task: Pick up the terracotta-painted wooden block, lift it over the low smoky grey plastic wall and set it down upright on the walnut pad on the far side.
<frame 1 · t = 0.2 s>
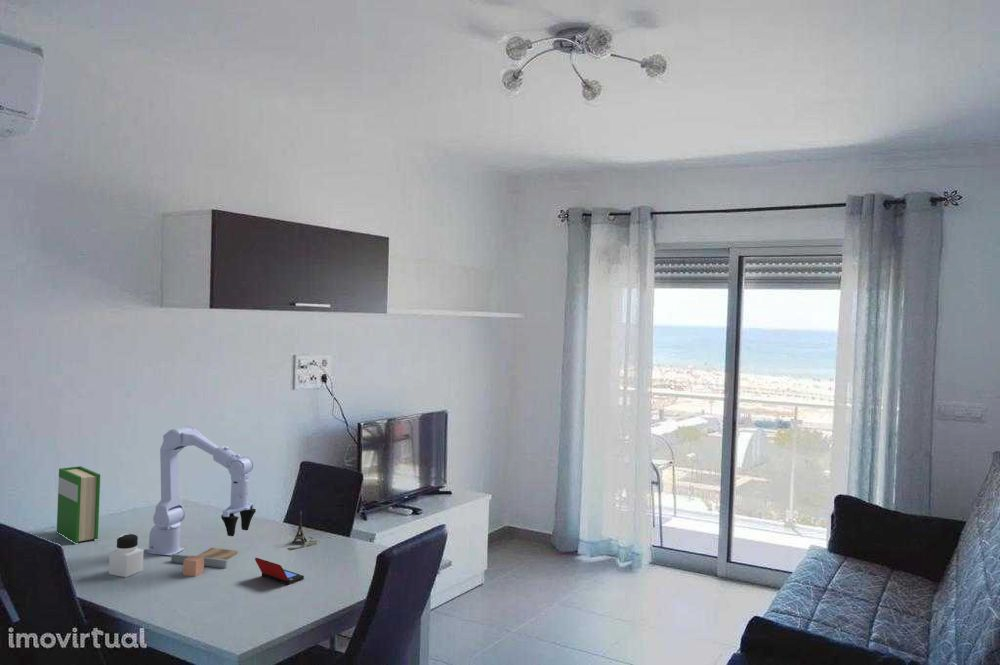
hand: (237, 532, 255), 10 cm above the table, fingers open, 7 cm apart
medicine bottle: (125, 573, 240), on the table
walnut pad: (216, 556, 259), on the table
low wall: (199, 564, 251), on the table
hardback book: (76, 537, 273), on the table
terracotta block: (193, 573, 242), on the table
handheld game console: (279, 580, 241), on the table
eiffel tower figurine: (299, 545, 279), on the table
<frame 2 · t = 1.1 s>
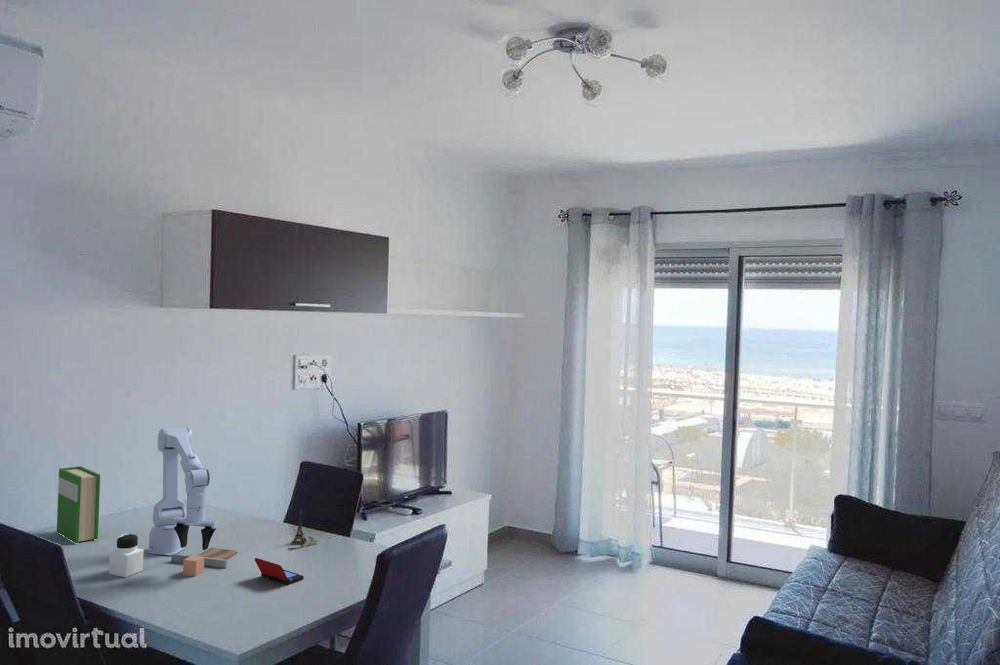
hand: (194, 548, 242), 8 cm above the table, fingers open, 7 cm apart
nothing on the table moved.
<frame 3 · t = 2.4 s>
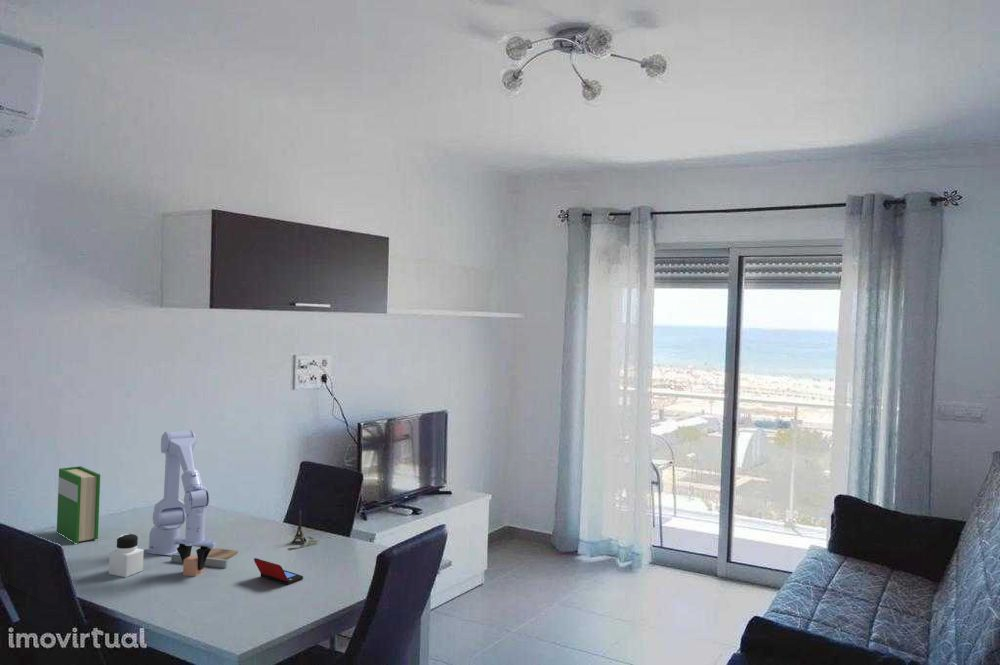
hand: (193, 568, 242), 2 cm above the table, fingers closed on terracotta block, 4 cm apart
terracotta block: (193, 573, 242), on the table, touching gripper
everything else where it was.
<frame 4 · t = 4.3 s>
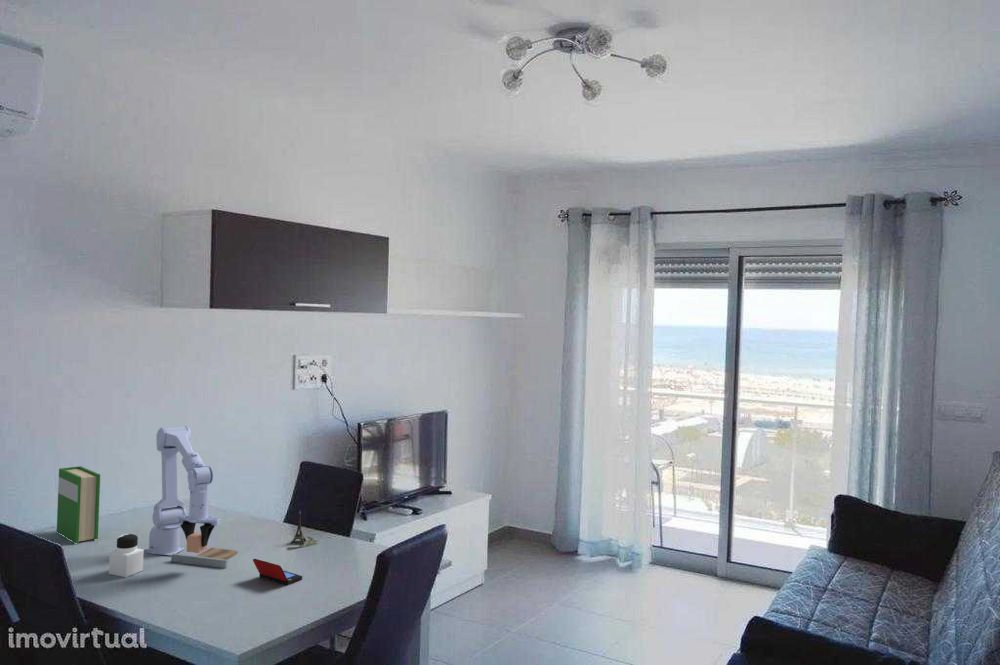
hand: (197, 545, 244), 9 cm above the table, fingers closed on terracotta block, 4 cm apart
terracotta block: (196, 550, 244), point 7 cm above the table, touching gripper
everything else where it was.
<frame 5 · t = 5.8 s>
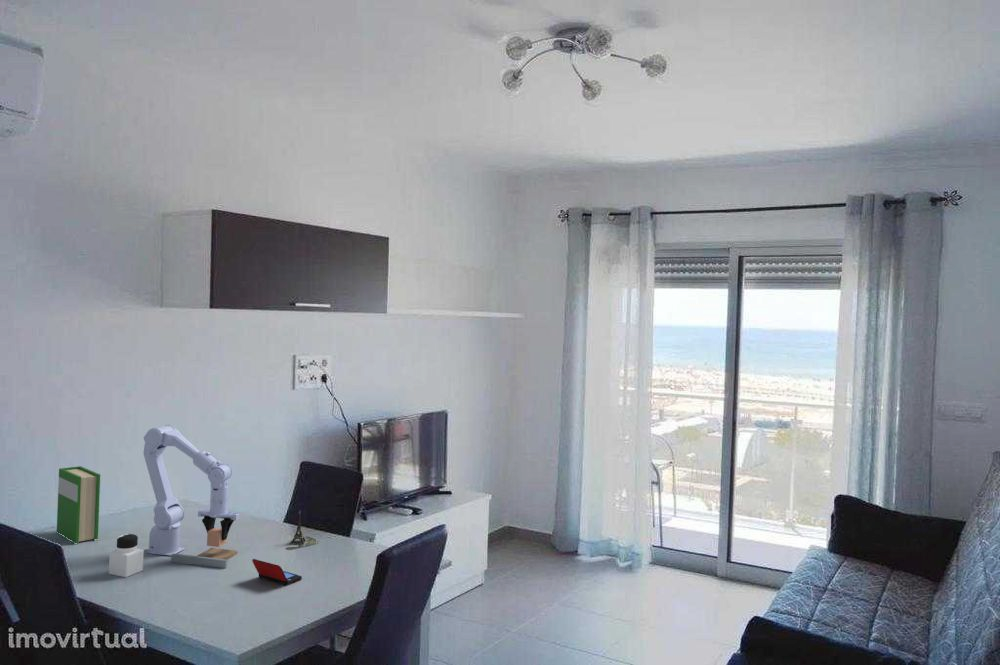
hand: (217, 538, 259), 6 cm above the table, fingers closed on terracotta block, 4 cm apart
terracotta block: (216, 544, 259), point 4 cm above the table, touching gripper
when the fingers open (4 cm above the table, at t = 6.7 s): terracotta block drops 1 cm, resting on walnut pad.
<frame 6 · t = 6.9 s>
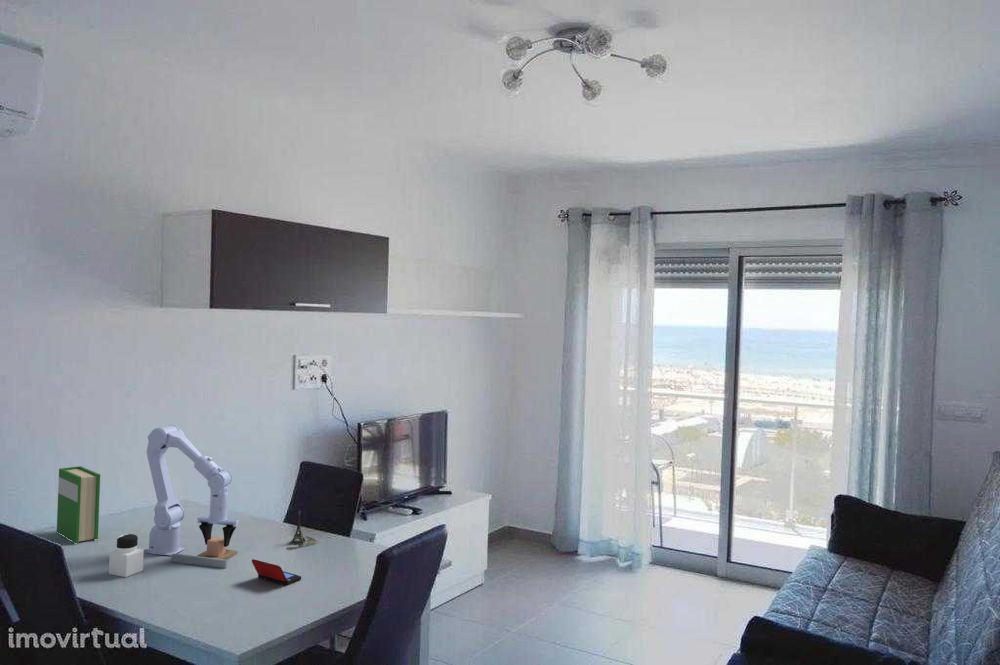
hand: (217, 545, 259), 4 cm above the table, fingers open, 6 cm apart
terracotta block: (216, 553, 259), point 1 cm above the table, touching walnut pad
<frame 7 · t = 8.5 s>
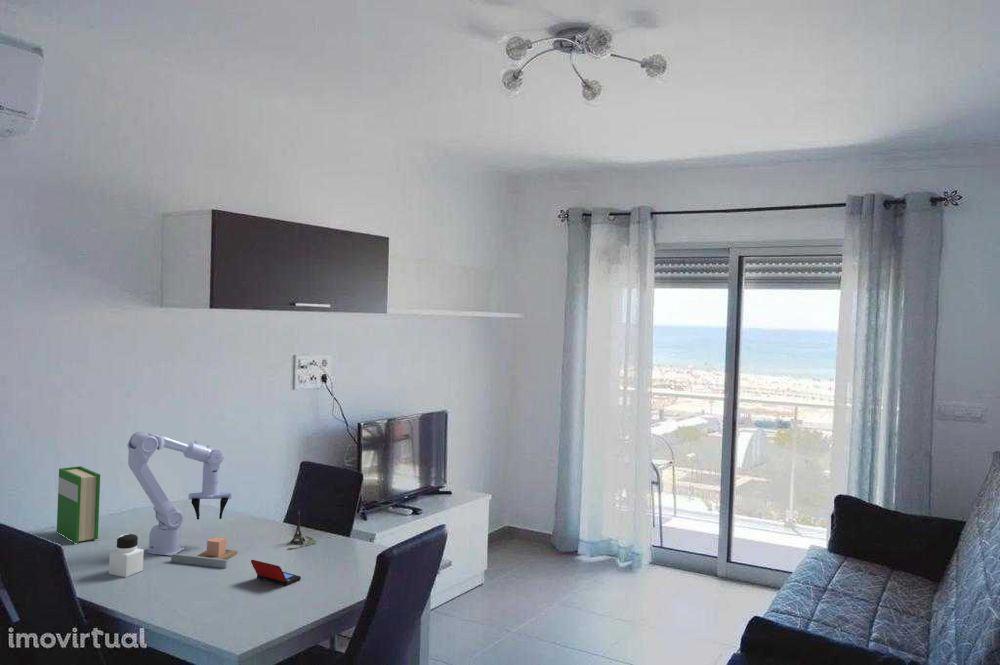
hand: (209, 518, 272), 9 cm above the table, fingers open, 7 cm apart
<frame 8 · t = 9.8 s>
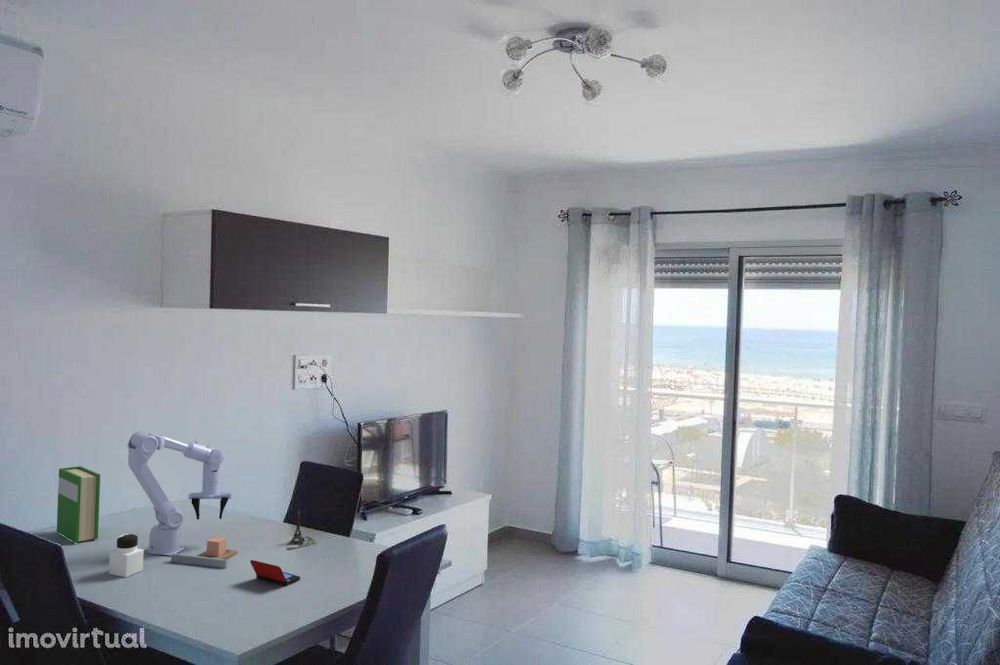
hand: (209, 518, 272), 9 cm above the table, fingers open, 7 cm apart
at the end: terracotta block 0.4 cm off-centre on the walnut pad, point 1.0 cm above the walnut pad's base; terracotta block tilted 0°; the gripper is holding nothing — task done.
